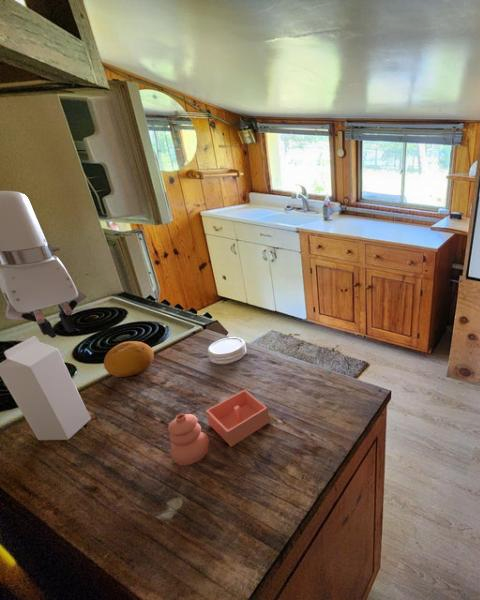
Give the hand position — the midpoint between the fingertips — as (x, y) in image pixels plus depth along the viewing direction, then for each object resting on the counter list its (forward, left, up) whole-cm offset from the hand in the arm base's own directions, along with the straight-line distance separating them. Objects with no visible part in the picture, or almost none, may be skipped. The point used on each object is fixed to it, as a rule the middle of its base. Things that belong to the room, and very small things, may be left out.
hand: (60, 332), depth 74 cm
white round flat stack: (+15, +28, -17) cm, 36 cm away
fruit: (0, +10, -17) cm, 20 cm away
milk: (+11, -8, -17) cm, 22 cm away
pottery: (+40, +8, -17) cm, 44 cm away
